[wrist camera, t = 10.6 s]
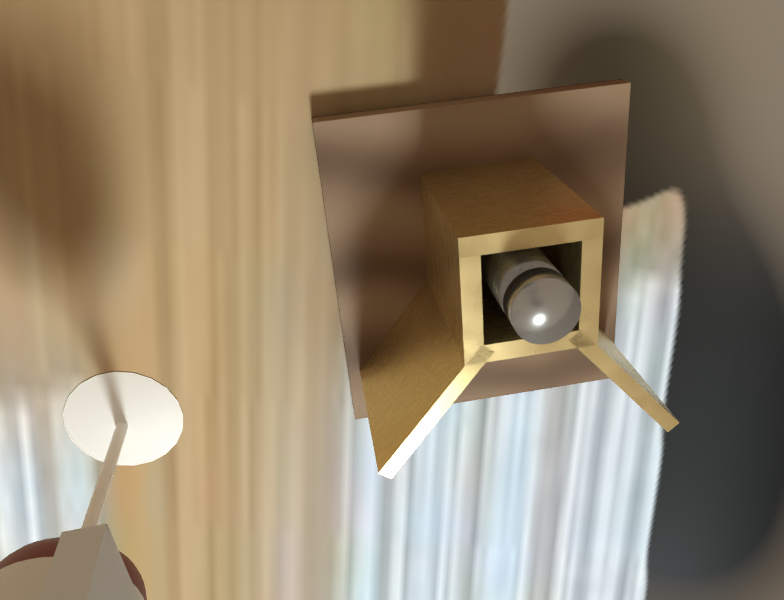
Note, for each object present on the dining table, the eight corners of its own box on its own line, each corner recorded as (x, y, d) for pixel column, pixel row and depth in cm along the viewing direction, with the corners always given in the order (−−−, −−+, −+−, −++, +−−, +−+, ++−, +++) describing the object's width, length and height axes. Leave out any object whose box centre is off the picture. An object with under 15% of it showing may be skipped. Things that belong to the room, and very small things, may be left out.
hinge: (334, 184, 40) (349, 253, 31) (614, 147, 41) (705, 203, 33) (360, 377, 46) (379, 480, 37) (604, 339, 47) (678, 430, 39)
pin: (468, 187, 41) (534, 271, 31) (515, 206, 42) (594, 294, 32) (444, 234, 42) (499, 332, 32) (490, 252, 43) (558, 352, 33)
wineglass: (60, 357, 44) (-88, 638, 26) (203, 382, 46) (155, 657, 28) (46, 457, 47) (-94, 769, 29) (180, 476, 49) (125, 777, 31)
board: (311, 117, 39) (312, 122, 38) (621, 79, 41) (630, 82, 40) (353, 408, 49) (355, 419, 48) (604, 368, 50) (612, 377, 49)
